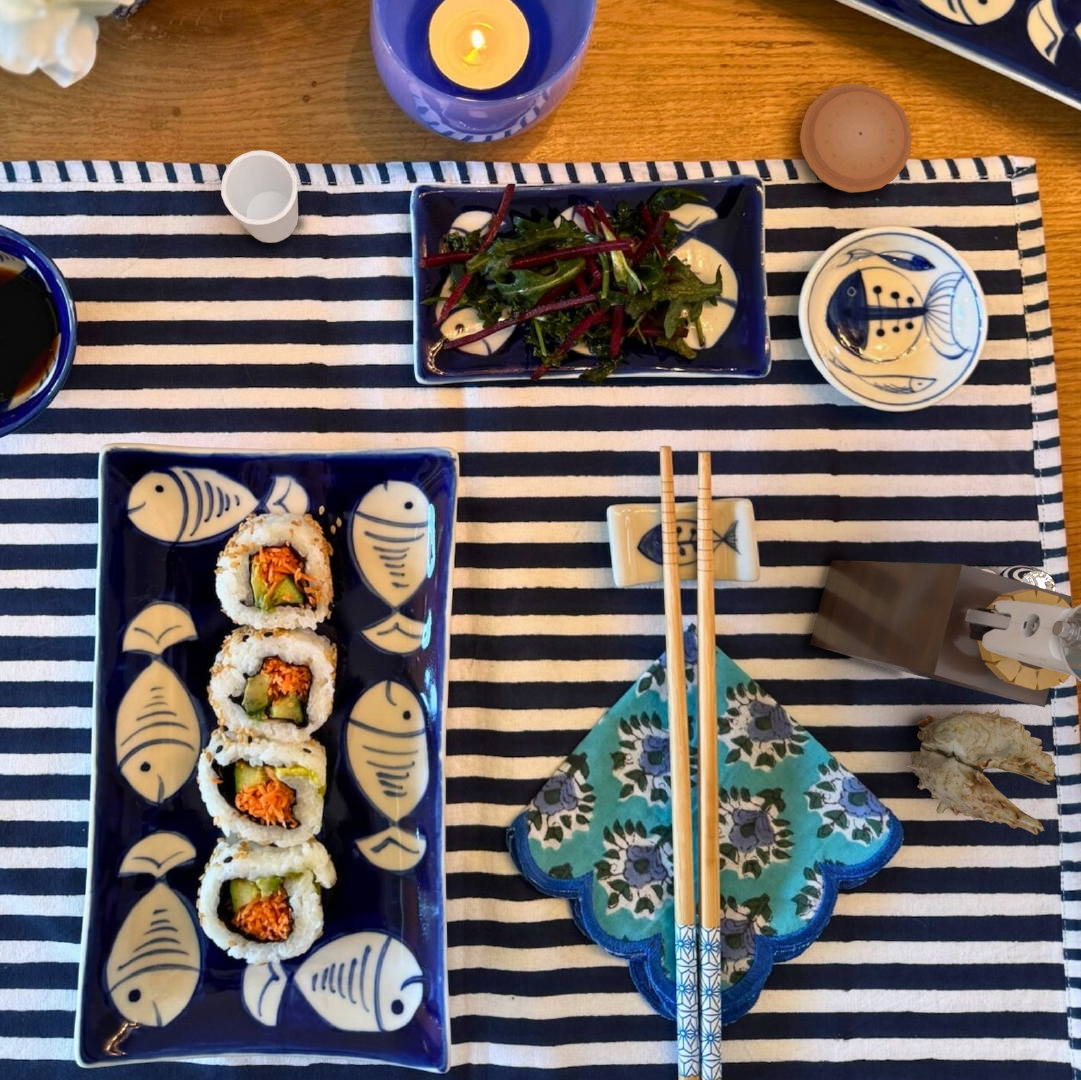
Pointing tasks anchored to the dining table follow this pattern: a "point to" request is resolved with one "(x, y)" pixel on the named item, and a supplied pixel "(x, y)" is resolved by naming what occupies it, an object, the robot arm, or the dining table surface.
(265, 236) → the cup
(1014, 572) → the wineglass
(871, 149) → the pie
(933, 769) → the seashell
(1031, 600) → the ring
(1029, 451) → the dining table surface
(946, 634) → the peg stand
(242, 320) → the dining table surface
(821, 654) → the dining table surface
